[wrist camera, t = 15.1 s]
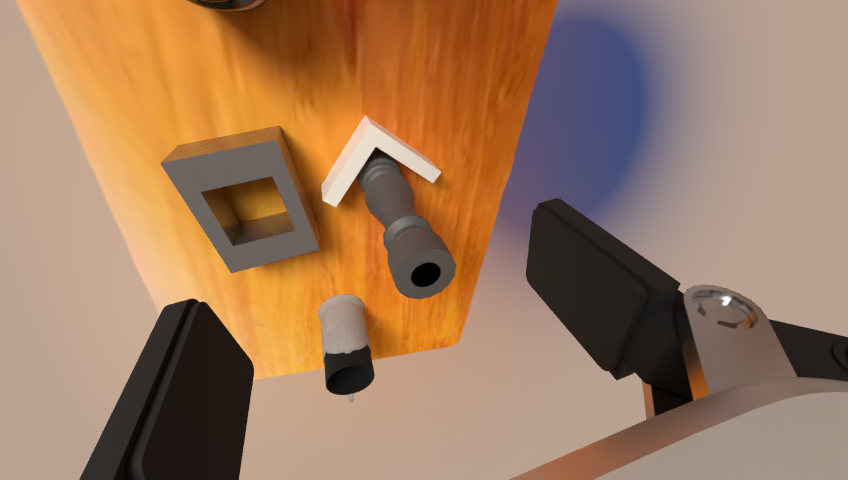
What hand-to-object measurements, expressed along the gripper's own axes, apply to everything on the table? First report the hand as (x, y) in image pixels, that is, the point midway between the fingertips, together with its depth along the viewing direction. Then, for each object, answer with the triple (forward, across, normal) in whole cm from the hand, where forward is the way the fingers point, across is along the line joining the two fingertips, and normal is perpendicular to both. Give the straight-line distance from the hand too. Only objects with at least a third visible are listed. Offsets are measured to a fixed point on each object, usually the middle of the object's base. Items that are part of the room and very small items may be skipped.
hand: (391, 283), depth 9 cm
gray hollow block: (+38, +13, +12) cm, 42 cm away
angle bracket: (+38, -4, +10) cm, 40 cm away
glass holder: (+38, +9, +42) cm, 58 cm away
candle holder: (+38, -4, +13) cm, 41 cm away
